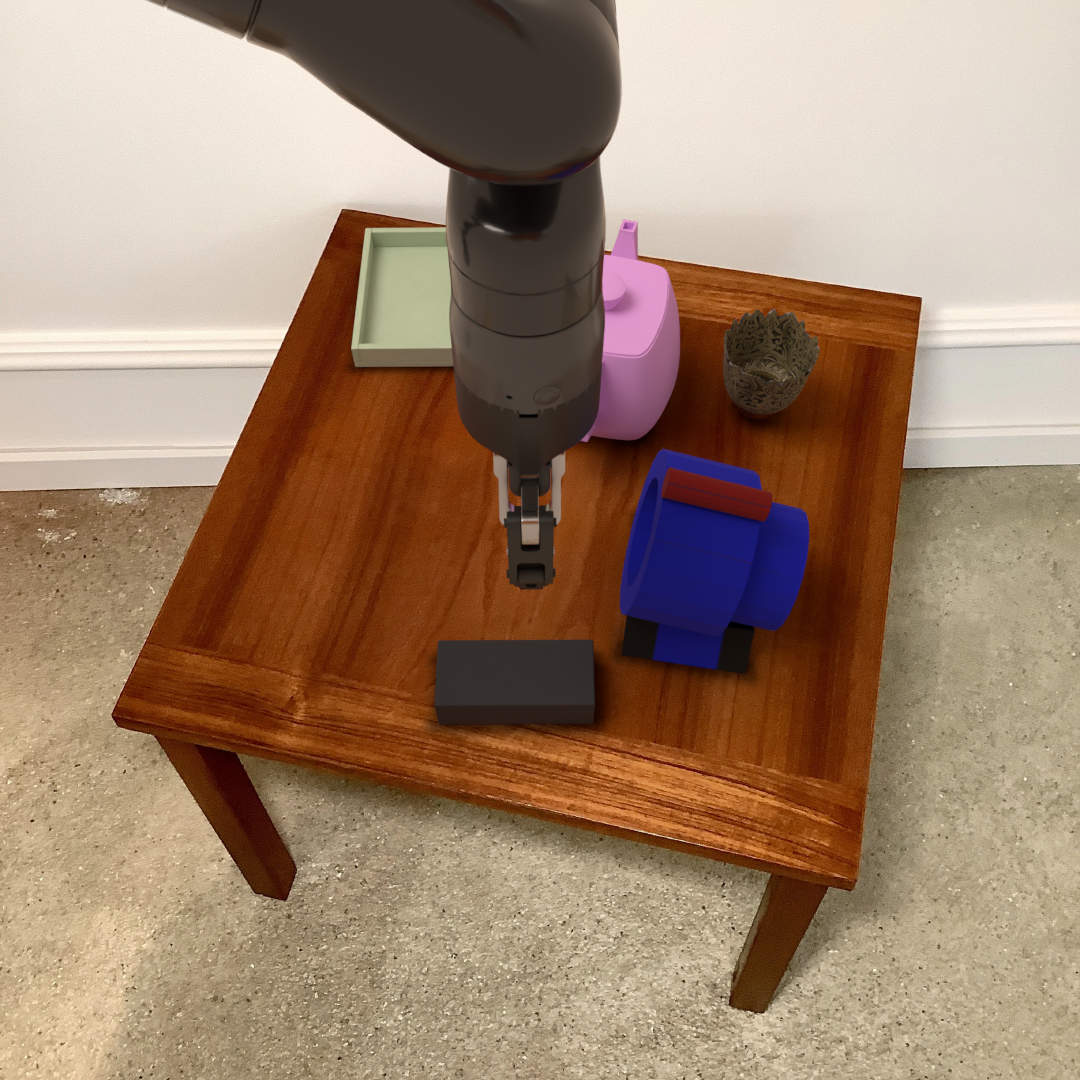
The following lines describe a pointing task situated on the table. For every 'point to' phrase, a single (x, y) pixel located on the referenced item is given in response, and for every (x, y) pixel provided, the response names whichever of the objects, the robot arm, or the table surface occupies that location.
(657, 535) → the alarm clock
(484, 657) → the black rectangular block
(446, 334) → the pale green tray
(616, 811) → the table surface
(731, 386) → the cup
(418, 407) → the table surface
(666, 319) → the teapot
